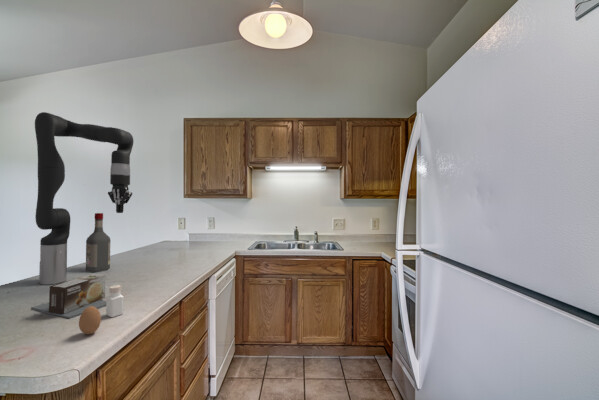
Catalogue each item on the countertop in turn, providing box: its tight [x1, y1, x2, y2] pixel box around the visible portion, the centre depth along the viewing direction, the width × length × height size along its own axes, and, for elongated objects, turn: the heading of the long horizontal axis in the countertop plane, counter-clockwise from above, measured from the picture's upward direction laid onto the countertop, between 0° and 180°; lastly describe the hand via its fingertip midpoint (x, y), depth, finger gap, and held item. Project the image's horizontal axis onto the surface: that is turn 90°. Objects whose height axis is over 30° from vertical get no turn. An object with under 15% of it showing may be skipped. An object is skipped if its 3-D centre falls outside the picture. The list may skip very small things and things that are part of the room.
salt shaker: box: [105, 284, 125, 318], centre depth 96 cm, size 4×4×10 cm
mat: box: [30, 299, 106, 320], centre depth 102 cm, size 20×14×1 cm
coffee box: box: [48, 273, 107, 314], centre depth 103 cm, size 9×6×16 cm
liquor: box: [85, 212, 111, 273], centre depth 151 cm, size 9×9×30 cm
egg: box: [78, 306, 102, 335], centre depth 83 cm, size 5×5×8 cm
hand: (119, 212), depth 129 cm, fingers closed
